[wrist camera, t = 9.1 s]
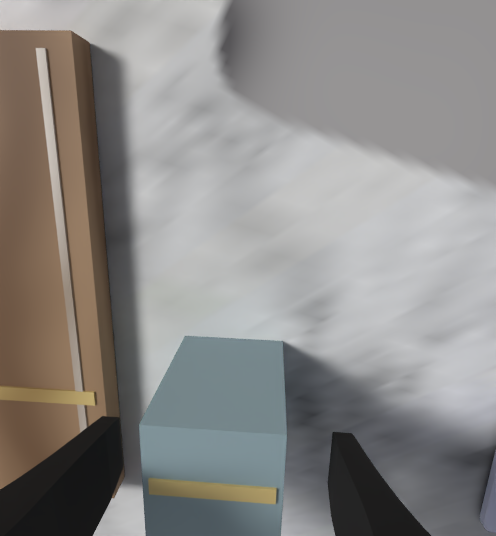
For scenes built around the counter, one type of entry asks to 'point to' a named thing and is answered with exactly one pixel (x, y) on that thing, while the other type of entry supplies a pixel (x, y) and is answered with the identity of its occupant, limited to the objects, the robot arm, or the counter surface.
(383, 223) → the counter surface
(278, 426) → the block
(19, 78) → the walnut board
